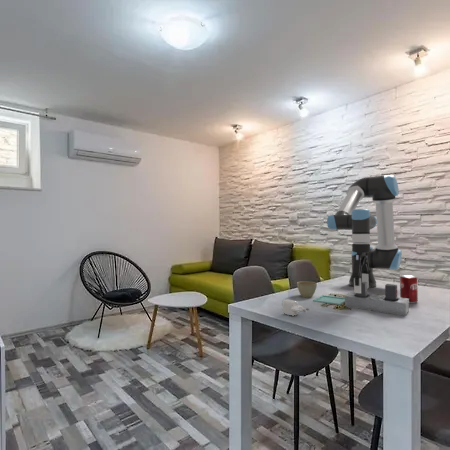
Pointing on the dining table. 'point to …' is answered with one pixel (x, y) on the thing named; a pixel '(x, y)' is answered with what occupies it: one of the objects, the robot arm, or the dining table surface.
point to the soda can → (409, 288)
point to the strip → (380, 301)
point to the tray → (330, 299)
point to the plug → (363, 290)
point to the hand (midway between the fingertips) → (361, 290)
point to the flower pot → (306, 288)
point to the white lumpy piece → (292, 307)
